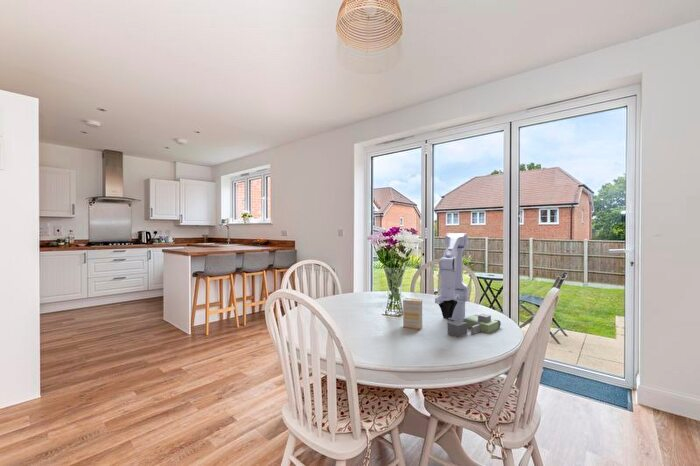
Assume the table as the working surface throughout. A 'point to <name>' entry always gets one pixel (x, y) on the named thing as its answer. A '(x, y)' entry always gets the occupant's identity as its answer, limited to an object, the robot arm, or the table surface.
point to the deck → (481, 323)
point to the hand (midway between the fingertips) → (447, 317)
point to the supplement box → (412, 313)
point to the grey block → (457, 328)
